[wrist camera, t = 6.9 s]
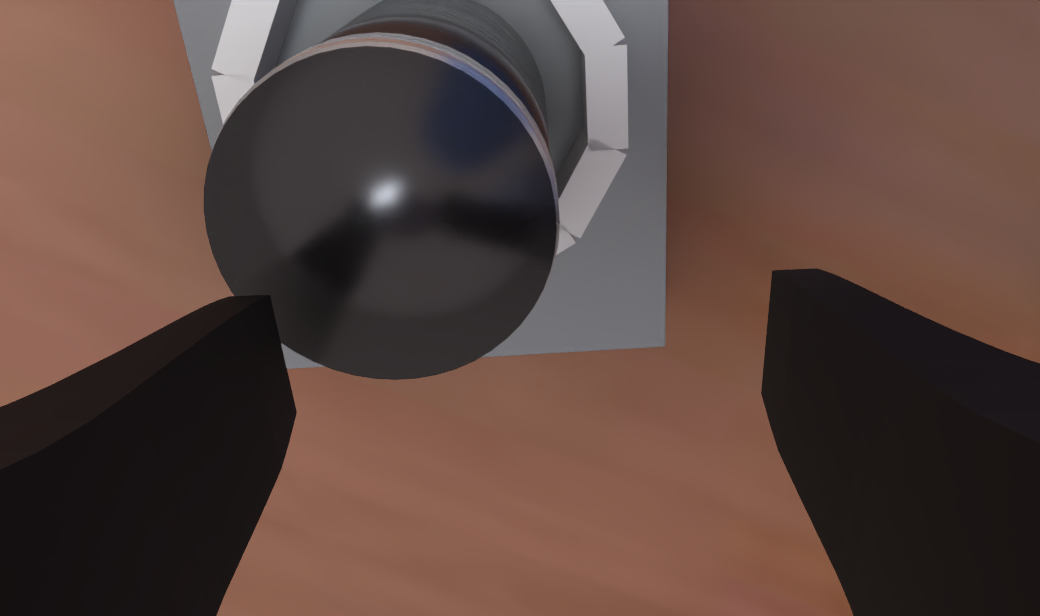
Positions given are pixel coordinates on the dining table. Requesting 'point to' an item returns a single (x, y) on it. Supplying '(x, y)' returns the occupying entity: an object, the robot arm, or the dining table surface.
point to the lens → (391, 191)
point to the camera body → (572, 137)
